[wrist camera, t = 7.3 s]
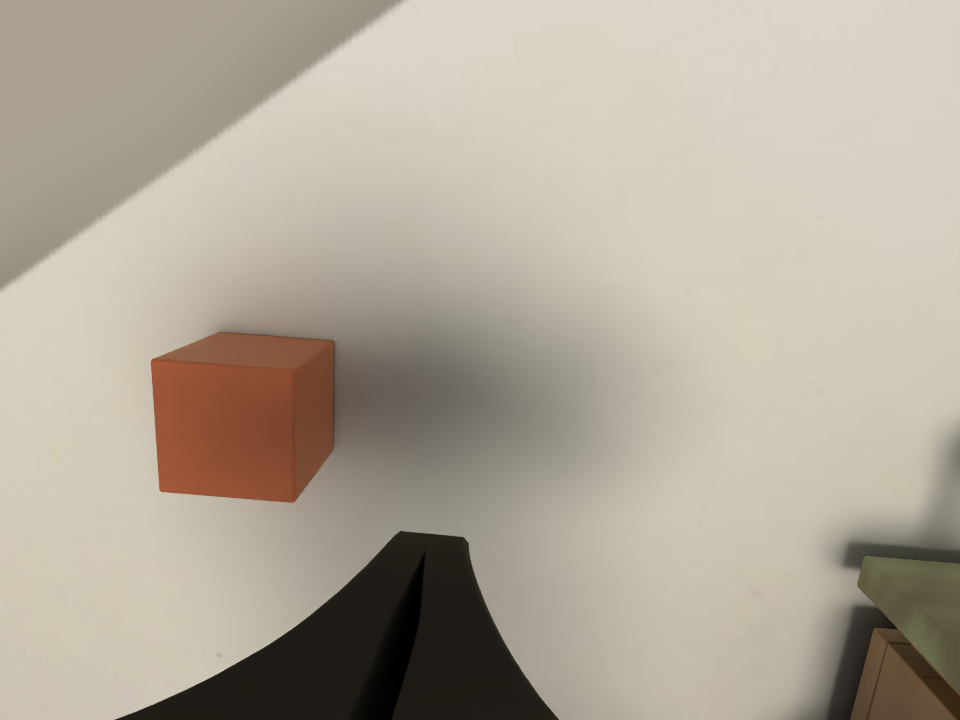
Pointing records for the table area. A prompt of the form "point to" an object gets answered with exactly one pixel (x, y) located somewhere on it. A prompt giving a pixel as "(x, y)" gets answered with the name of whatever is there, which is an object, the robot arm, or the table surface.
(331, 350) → the block
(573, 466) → the table surface
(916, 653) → the drawer
